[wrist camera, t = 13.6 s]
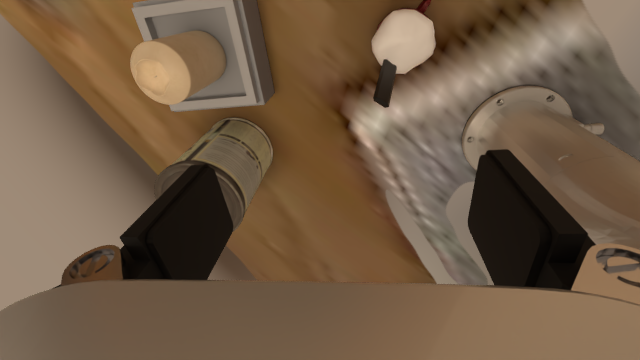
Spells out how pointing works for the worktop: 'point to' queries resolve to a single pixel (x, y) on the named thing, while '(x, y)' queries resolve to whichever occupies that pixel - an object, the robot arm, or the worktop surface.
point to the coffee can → (227, 162)
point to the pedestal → (234, 36)
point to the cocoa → (401, 46)
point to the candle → (177, 65)
